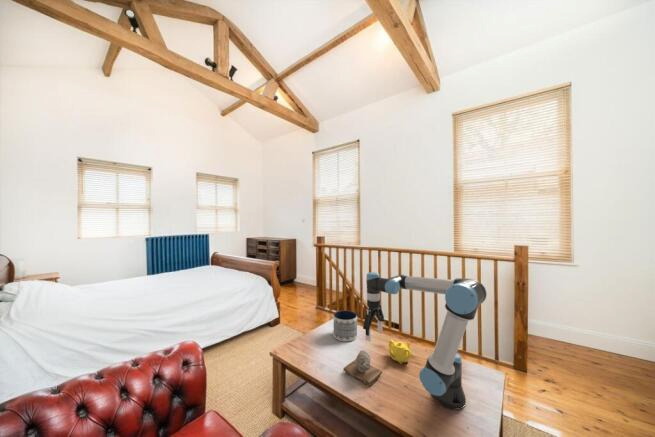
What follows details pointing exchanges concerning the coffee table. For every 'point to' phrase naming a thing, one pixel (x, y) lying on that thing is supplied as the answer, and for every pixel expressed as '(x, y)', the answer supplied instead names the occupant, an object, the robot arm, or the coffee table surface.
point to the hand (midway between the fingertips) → (374, 336)
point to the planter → (345, 326)
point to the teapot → (399, 351)
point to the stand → (363, 373)
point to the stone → (363, 361)
